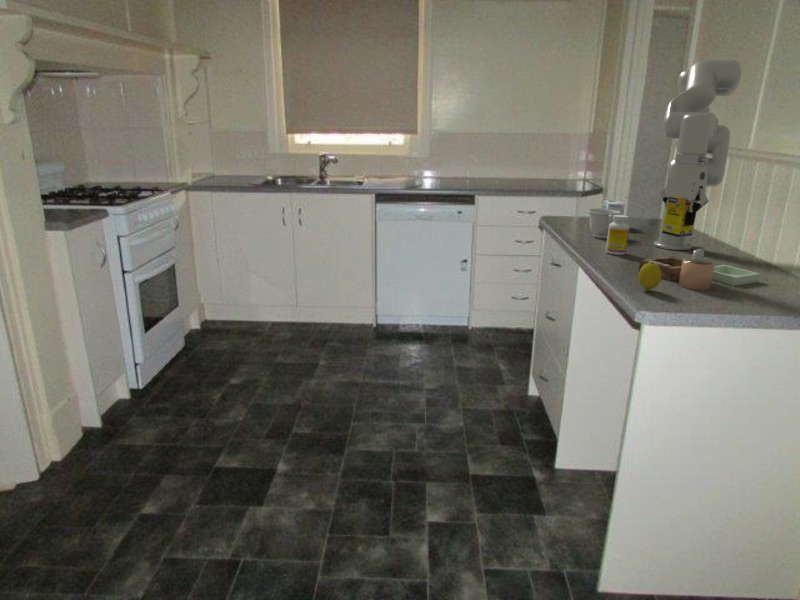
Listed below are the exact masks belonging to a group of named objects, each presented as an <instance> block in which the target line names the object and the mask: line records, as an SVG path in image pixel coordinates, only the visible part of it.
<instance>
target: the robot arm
mask: <svg viewBox="0 0 800 600" xmlns="http://www.w3.org/2000/svg"><path fill="white" fill-rule="evenodd" d="M741 77H742V65H741V64H740V62H739V61H738V60H737V59H736V60H735V59H703V60H699V61H697V62H695V63H693V64H692V65H691V66H690V68H688V69H685V70H683V71H681V73H680V74H679V76H678V80H677V93H678V94H677V95H676V96H675V97H674V98H672V99H671V101H669V103H668V104H667V105H666V106H667V107H666V109H665V112H664V118H663V120H662V130H661V131H662V134H663V136H664V137H665V138H667V139H673V140H676V153H675V158H673V159H671V160H670V161H669V163H668V165H667V178H666V180H667V181H666V184H665V185H666V186H665V187H664V188H663V189H662V190H661V191H660V192H659V195H660V197H661V198H662V201H663V203H664V207H663V214H662V218H661V219H662V220H661V225H660V232H659V235H658V239H657V240H654V241H653V246H655V247H657V248H659V249H666V250H674V251H687V250H688V251H689V250H692V248H693V245H692V244H691V243H690V241H693V242H694V241H696V240H697V237H696V235H695V234H692V236H682V237H676V236H672V235H668V234H664V233H662V231H663V225H664V219H665V214H666V208H667V203H668V197H676V198H682V199H686V200H687V201H688V202H689V203H688V210H689V212H686V217H685V223H684V225H685V226H690V225H693V224H694V225H695V222H694V221H696V217H695V216H697V212H699V210H701V209H702V208H703V207H704V206H705V205H707V204H708V203H709V201H710V199H709V198H708V197H707V195H706V192H707V187H708V188H709V187H710V188H711V187H712V188H713V187H718V186H719V185H720V184H721V183H722V181H723V179H724V176H725V175H724V174H725V170H726V165H727V164H726V162H727V158H728V152H729V147H730V142H731V141H730V140H731V132H730V129H729V127H728V126H726V125H723V124H719V119H718V118H717V115H716V114H715V113H713V112H710V105H711V104H713V102H714V101H715V99H716V97H727V96H731V95H733V94H734V93H735V91H736V89H737V88H738V86H739V84H740V81H741ZM707 154H708V155H710V156H711V157H707ZM697 199H698V200H697ZM698 201H699V202H698ZM693 203H694V204H693Z"/></svg>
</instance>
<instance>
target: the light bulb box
mask: <svg viewBox="0 0 800 600" xmlns="http://www.w3.org/2000/svg"><path fill="white" fill-rule="evenodd" d="M602 205H603V206H602V209H610V210H616V211H620V212H621V214H619V215H624V213H625V206H626V204H625V203H624V202H622V201H621V200H610V199H609V200H608V199H607V200H604V199H603V204H602Z"/></svg>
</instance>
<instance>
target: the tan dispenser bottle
mask: <svg viewBox="0 0 800 600" xmlns="http://www.w3.org/2000/svg"><path fill="white" fill-rule="evenodd" d="M704 255H705V251H704V250H702V249H700V248H699V249H698V248H697V249H693V252H692V257H686V258H682V259H683V261H682V266H681V272H680V277H679V279H678V286H679V287H682V288H684V289H686V290H692V291H694V290H695V291H708V290H710V289H711V288H712V287H711V286H712V283H713V282H712V281H713V280H712V277H713V272H714V267H715V266H716V263H715V262H714V261H712V260H708V259H706V258H705V259H704Z"/></svg>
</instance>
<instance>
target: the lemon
mask: <svg viewBox="0 0 800 600" xmlns="http://www.w3.org/2000/svg"><path fill="white" fill-rule="evenodd" d="M661 280H662V278H661V270H660V267H659V266H658V265H657V264H655V263H654V262H650V263H647V264H645V265H643V266H642V268H641V269H640V272H639V271H638V280H637V281H638V282H639V283H638V284H639V285H640V286H641V287H642V288H643V289H644V290H645V291H650V290H652V289H655V288H657V287H658V285H659V284H660V283H661Z"/></svg>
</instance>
